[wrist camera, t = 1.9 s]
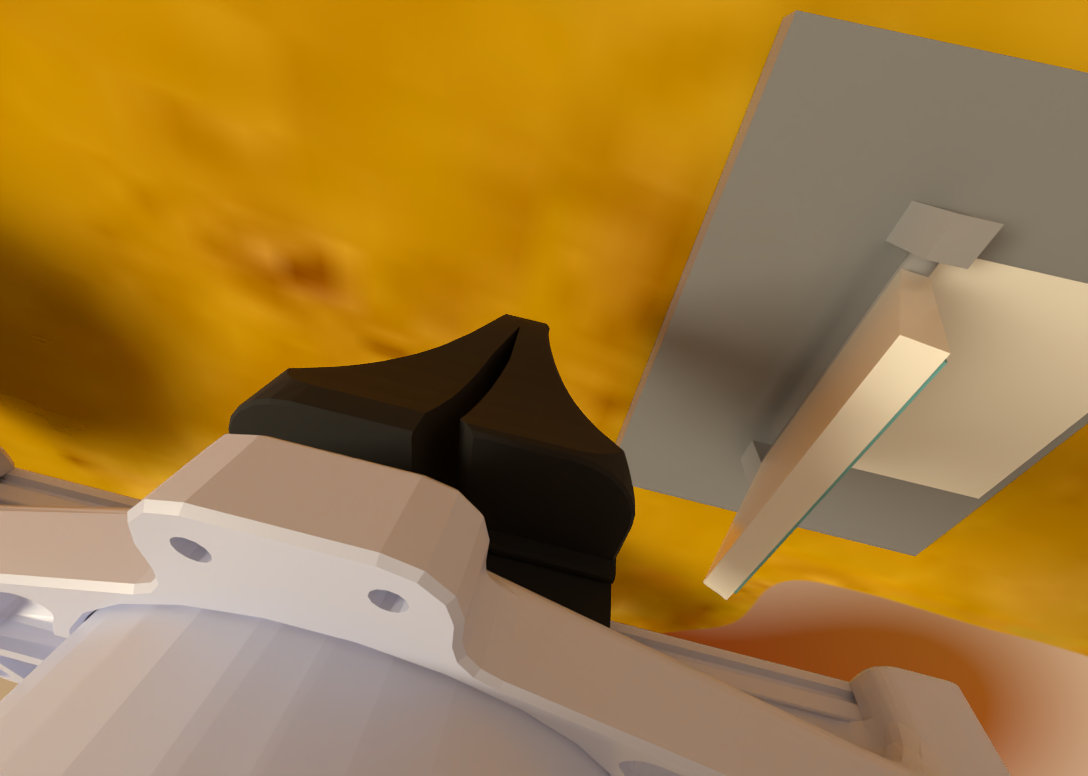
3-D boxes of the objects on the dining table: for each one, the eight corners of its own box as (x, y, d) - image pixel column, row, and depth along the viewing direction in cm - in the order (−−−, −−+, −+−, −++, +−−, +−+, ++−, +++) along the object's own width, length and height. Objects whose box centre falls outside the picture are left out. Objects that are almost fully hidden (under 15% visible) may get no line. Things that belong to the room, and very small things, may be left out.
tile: (762, 460, 16) (782, 472, 16) (702, 582, 11) (730, 603, 11) (900, 268, 11) (933, 279, 11) (900, 334, 7) (958, 356, 6)
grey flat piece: (903, 539, 21) (940, 594, 19) (606, 465, 21) (605, 510, 19) (1379, 146, 11) (1606, 156, 8) (783, 18, 11) (829, -10, 9)
